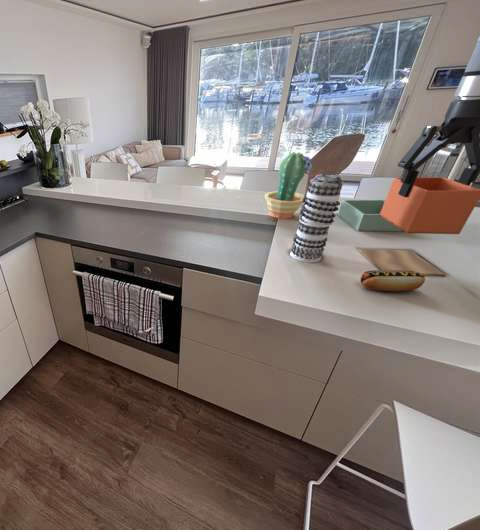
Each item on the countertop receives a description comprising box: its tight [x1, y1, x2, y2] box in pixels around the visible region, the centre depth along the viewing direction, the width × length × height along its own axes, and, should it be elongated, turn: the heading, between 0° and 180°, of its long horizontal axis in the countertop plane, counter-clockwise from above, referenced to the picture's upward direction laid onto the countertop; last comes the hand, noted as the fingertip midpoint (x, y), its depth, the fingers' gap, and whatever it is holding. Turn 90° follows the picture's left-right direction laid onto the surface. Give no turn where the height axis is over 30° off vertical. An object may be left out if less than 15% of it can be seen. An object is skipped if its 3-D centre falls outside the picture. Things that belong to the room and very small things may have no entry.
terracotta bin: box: [380, 176, 480, 235], centre depth 75 cm, size 11×13×11 cm
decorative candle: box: [289, 173, 346, 264], centre depth 85 cm, size 9×9×25 cm
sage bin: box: [337, 199, 404, 232], centre depth 106 cm, size 14×16×7 cm
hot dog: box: [359, 269, 426, 292], centre depth 72 cm, size 5×13×5 cm, turn 82°
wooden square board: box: [358, 248, 446, 277], centre depth 84 cm, size 14×14×1 cm
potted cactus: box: [264, 151, 313, 220], centre depth 115 cm, size 15×16×25 cm
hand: (429, 195), depth 74 cm, fingers closed on terracotta bin, 11 cm apart
